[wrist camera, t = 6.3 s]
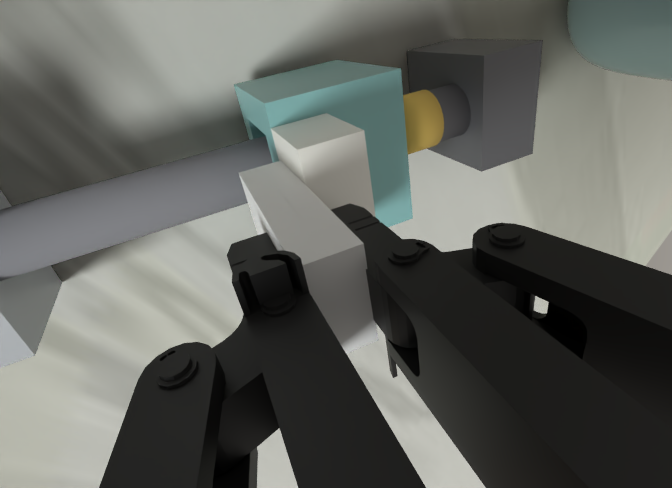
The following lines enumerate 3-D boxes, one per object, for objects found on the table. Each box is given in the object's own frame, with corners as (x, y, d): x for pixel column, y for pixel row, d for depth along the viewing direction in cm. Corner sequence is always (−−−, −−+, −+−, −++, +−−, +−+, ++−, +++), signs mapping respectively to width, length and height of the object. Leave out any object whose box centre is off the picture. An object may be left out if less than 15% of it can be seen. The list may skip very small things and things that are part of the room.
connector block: (413, 142, 24) (481, 171, 19) (406, 50, 21) (483, 55, 16) (455, 129, 24) (532, 153, 19) (454, 39, 22) (542, 40, 17)
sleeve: (268, 205, 21) (330, 299, 13) (233, 84, 18) (290, 119, 10) (354, 177, 22) (456, 249, 15) (336, 59, 19) (453, 75, 11)
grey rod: (-15, 272, 16) (-41, 309, 14) (-59, 214, 14) (-97, 245, 12) (439, 132, 21) (472, 143, 19) (437, 79, 19) (472, 84, 17)
